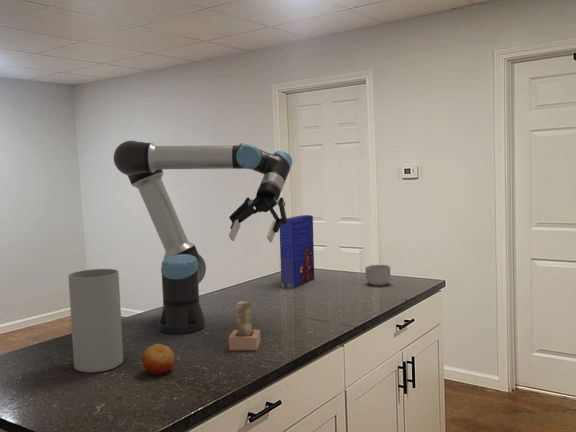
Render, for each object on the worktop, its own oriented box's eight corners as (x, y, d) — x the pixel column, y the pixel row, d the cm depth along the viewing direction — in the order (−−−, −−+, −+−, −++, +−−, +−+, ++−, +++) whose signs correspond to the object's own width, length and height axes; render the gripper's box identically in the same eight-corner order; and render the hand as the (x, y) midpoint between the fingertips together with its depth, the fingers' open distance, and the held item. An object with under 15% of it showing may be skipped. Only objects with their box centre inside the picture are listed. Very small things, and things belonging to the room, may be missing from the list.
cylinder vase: (75, 376, 138) (69, 279, 136) (73, 361, 150) (67, 271, 148) (126, 368, 143) (121, 274, 141) (120, 354, 155) (115, 267, 153)
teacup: (392, 286, 233) (392, 268, 232) (367, 287, 233) (366, 269, 232) (387, 280, 247) (386, 262, 246) (363, 281, 247) (362, 263, 246)
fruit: (159, 357, 147) (167, 335, 143) (174, 378, 142) (182, 356, 139) (132, 365, 141) (139, 343, 138) (146, 387, 137) (154, 365, 133)
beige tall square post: (238, 344, 158) (236, 303, 157) (243, 341, 161) (241, 301, 160) (247, 345, 157) (245, 304, 156) (252, 342, 160) (250, 301, 159)
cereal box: (302, 278, 257) (301, 214, 254) (314, 279, 254) (312, 215, 252) (281, 287, 237) (279, 219, 235) (293, 288, 235) (291, 219, 232)
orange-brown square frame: (228, 350, 156) (228, 337, 155) (234, 341, 164) (233, 329, 163) (256, 350, 155) (256, 337, 155) (260, 341, 163) (260, 329, 163)
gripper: (307, 196, 181) (289, 247, 169) (242, 196, 192) (220, 244, 179) (300, 180, 176) (281, 232, 163) (233, 182, 186) (211, 230, 174)
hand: (249, 239), depth 171 cm, fingers open, 13 cm apart
